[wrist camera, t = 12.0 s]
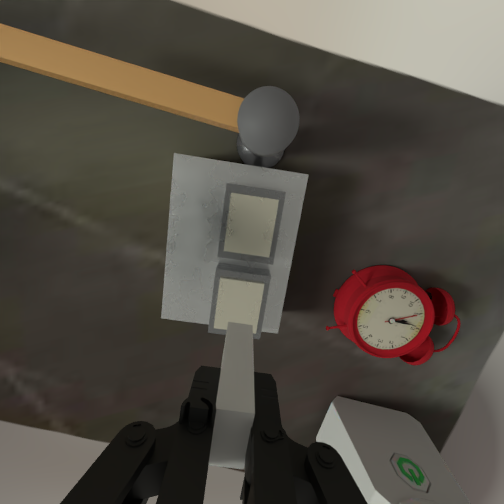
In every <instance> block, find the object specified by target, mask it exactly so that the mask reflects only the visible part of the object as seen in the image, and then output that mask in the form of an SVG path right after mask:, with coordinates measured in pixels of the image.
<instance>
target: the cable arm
mask: <svg viewBox="0 0 504 504" xmlns="http://www.w3.org/2000/svg"><path fill="white" fill-rule="evenodd" d="M0 62H2V63H5V64H9V65H12V66H15V67H19V68H22V69H26V70H29V71H32V72H36V73H39V74H42V75H46V76H49V77H52V78H56V79H59V80H63V81H66V82H69V83H73V84H76V85H79V86H83V87H86V88H89V89H93V90H96V91H99V92H103V93H106V94H110V95H113V96H116V97H120V98H123V99H126V100H130V101H133V102H136V103H140V104H143V105H147V106H150V107H153V108H157V109H160V110H163V111H167V112H170V113H173V114H177V115H180V116H183V117H187V118H190V119H194V120H197V121H200V122H204V123H207V124H210V125H214V126H217V127H220V128H224V129H227V130H231V131H234V132H237V133H239V135H240V138H241V141H242V143H243V144H244V146H245V147H246V148H247V149H248V150H249V151H250V152H251V153H252V154H253V155H255V156H257V157H271V156H274V155H277V154H279V153H280V152H282V151H283V150H284V149H285V148H286V147H287V146H288V145H289V144H290V143H291V142H292V141H293V139H294V138H295V136H296V134H297V131H298V128H299V121H300V119H299V111H298V107H297V105H296V103H295V101H294V99H293V98H292V97H291V96H290V95H289V94H288V93H287V92H286V91H284V90H283V89H281V88H278V87H274V86H263V87H260V88H257V89H255V90H253V91H252V92H250V93H249V94H248V95H247V96H246V97H245V99H244V98H241V97H238V96H234V95H231V94H228V93H225V92H221V91H218V90H215V89H212V88H208V87H205V86H202V85H199V84H195V83H192V82H189V81H186V80H182V79H179V78H176V77H173V76H169V75H166V74H163V73H160V72H156V71H153V70H150V69H147V68H143V67H140V66H137V65H134V64H130V63H127V62H124V61H121V60H117V59H114V58H111V57H108V56H104V55H101V54H98V53H95V52H91V51H88V50H85V49H82V48H78V47H75V46H72V45H69V44H65V43H62V42H59V41H56V40H52V39H49V38H46V37H43V36H39V35H36V34H33V33H30V32H26V31H23V30H20V29H17V28H13V27H10V26H7V25H4V24H1V23H0Z"/></svg>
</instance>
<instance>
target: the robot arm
mask: <svg viewBox="0 0 504 504" xmlns="http://www.w3.org/2000/svg"><path fill="white" fill-rule="evenodd" d="M208 465H211V466H219V467H228V468H237V469H244V465H245V477H244V482H243V487H242V491H241V497H240V500H243V502H242V503H243V504H368V503H367V502H366V500H365V498H364V496H363V494H362V493H361V491H360V489H359V487H358V486H357V484H356V482H355V480H354V478H353V477H352V475H351V473H350V471H349V470H348V468H347V466H346V464H345V462H344V461H343V459H342V457H341V456H340V454H339V453H338V452H337V450H335V449H334V448H333V447H332V446H330V445H328V444H326V443H324V442H315V443H312V444H311V445H310V446H309V447H308V448H307V447H305V446H303V445H300V444H298V443H296V442H294V441H293V440H291V439H290V438H289V437H288V436H287V435H286V432H285V430H284V429H283V428H282V425H281V418H280V410H279V403H278V395H277V388H276V382H275V380H274V379H273V377H272V375H271V374H265V373H258V372H254V360H253V325H248V324H241V323H234V322H228V326H227V333H226V339H225V345H224V352H223V358H222V365H221V368H215V367H208V366H201V367H200V368H199V369H198V370H197V371H196V372H195V376H194V379H193V383H192V386H191V390H190V393H189V397H188V398H187V399H186V400H184V402H183V403H182V405H181V411H180V419H179V421H178V422H177V423H176V424H174V425H172V426H170V427H167V428H163V429H157V430H155V428H154V427H153V425H151V424H150V423H148V422H144V421H138V422H133V423H131V424H128V425H126V426H125V427H124V428H123V429H122V430H121V431H120V432H119V433H118V434H117V435H116V436H115V438H114V439H113V440H112V441H111V443H110V444H109V445H108V446H107V447H106V449H105V450H104V451H103V452H102V453H101V455H100V456H99V457H98V458H97V460H96V461H95V462H94V463H93V464H92V466H91V467H90V468H89V469H88V470H87V472H86V473H85V474H84V475H83V477H82V478H81V479H80V480H79V481H78V483H77V484H76V485H75V486H74V487H73V489H72V490H71V491H70V492H69V493H68V495H67V496H66V497H65V499H64V500H63V501H62V502H61V503H60V504H146V503H147V501H148V498H149V497H153V496H157V495H158V498H157V502H156V504H203V500H204V492H205V485H206V479H207V471H208Z"/></svg>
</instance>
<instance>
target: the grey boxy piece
mask: <svg viewBox="0 0 504 504" xmlns="http://www.w3.org/2000/svg"><path fill="white" fill-rule="evenodd" d="M237 150H238V153H239V156H240V158H241V159H242V161H243V162H244V163H245V164H246V165H245V164H239V163H233V162H227V161H220V160H214V159H208V158H201V157H195V156H189V155H183V154H176V153H174V160H173V173H172V186H171V199H170V212H169V225H168V238H167V251H166V264H165V277H164V290H163V303H162V315H161V318H163V319H171V320H178V321H186V322H194V323H201V324H209V327H208V333H216V334H224V335H226V333H227V326H228V322H234V323H241V324H248V325H253V338H255V339H260V336H261V331H263V332H270V333H278V330H279V325H280V319H281V314H282V309H283V304H284V299H285V294H286V289H287V283H288V278H289V273H290V268H291V263H292V258H293V253H294V247H295V242H296V237H297V232H298V227H299V222H300V217H301V211H302V206H303V201H304V196H305V191H306V186H307V181H308V174H302V173H296V172H289V171H283V170H277V169H270V167H272V166H274V165H275V164H276V163H278V161H279V160H280V159H281V157H282V156H283V153H284V150H285V149H284V150H283V151H282V152H280V153H279V154H277V155H274V156H271V157H257V156H255V155H253V154H252V153H251V152H250V151H249V150H248V149H247V148H246V147H245V146H244V144H243V143H242V141H241V138H240V135H238V138H237Z"/></svg>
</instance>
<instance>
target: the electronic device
mask: <svg viewBox="0 0 504 504" xmlns="http://www.w3.org/2000/svg"><path fill="white" fill-rule="evenodd" d="M316 442H324V443H326V444H328V445H330V446H332V447H333V448H334V449H335V450H337V452H338V453H339V454H340V456H341V457H342V459H343V461H344V462H345V464H346V466H347V468H348V470H349V471H350V473H351V475H352V477H353V478H354V480H355V482H356V484H357V486H358V487H359V489H360V491H361V493H362V494H363V496H364V498H365V500H366V502H367V503H368V504H471V503H470V502H469V500H468V498H467V497H466V495H465V494H464V492H463V490H462V489H461V487H460V486H459V484H458V482H457V481H456V479H455V478H454V476H453V475H452V473H451V471H450V470H449V468H448V466H447V465H446V463H445V462H444V460H443V458H442V457H441V455H440V454H439V452H438V450H437V449H436V447H435V446H434V444H433V442H432V441H431V439H430V438H429V436H428V434H427V433H426V431H425V430H424V428H423V426H422V425H421V423H420V422H418V421H417V420H416V419H414V418H413V417H412V416H410V415H409V414H407V413H404V412H400V411H396V410H392V409H388V408H384V407H380V406H376V405H372V404H368V403H364V402H360V401H356V400H352V399H348V398H344V397H340V396H337V397H336V398H335V399H334V400H333V401H332V403H331V405H330V407H329V409H328V412H327V414H326V416H325V419H324V421H323V423H322V425H321V428H320V430H319V432H318V435H317V437H316Z"/></svg>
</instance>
